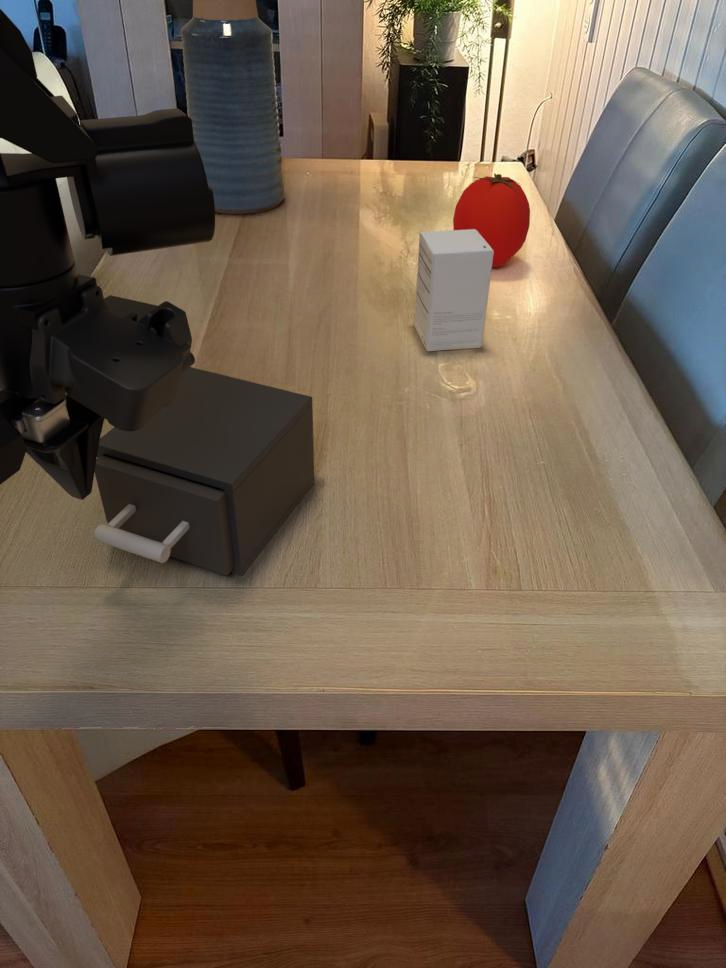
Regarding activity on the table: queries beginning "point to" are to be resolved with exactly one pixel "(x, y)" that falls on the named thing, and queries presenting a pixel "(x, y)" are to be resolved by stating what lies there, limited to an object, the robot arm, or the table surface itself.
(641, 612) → the table surface
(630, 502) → the table surface
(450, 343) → the white packaging box
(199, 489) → the drawer
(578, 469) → the table surface
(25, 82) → the robot arm
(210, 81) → the vase
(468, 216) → the tomato
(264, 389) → the cabinet casing
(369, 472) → the table surface
